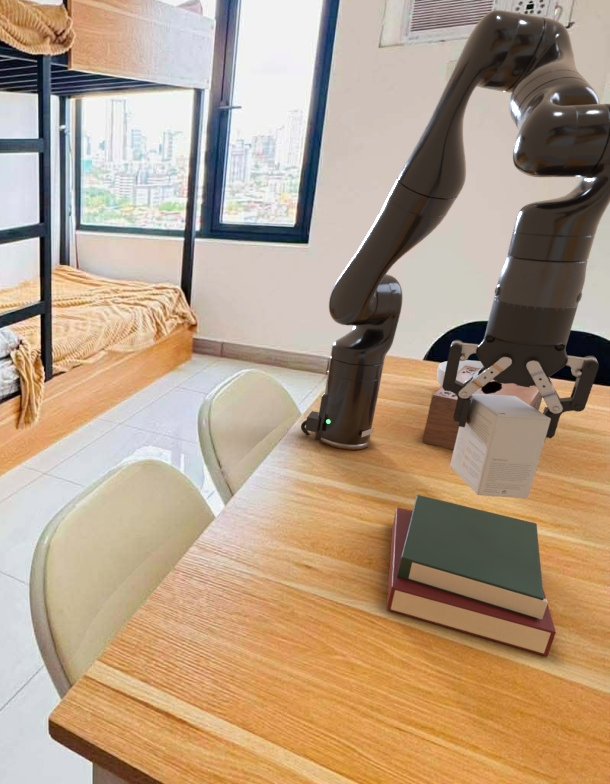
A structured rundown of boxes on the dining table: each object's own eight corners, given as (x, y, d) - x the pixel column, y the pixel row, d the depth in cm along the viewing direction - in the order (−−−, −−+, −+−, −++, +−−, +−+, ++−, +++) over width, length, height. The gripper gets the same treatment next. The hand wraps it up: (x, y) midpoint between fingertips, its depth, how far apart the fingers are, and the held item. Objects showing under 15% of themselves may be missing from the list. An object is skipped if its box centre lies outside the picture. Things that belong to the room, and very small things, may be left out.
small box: (528, 500, 74) (553, 418, 71) (476, 496, 75) (498, 415, 72) (495, 470, 82) (516, 394, 78) (448, 466, 83) (466, 391, 79)
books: (386, 610, 78) (396, 566, 76) (392, 526, 96) (400, 489, 94) (548, 657, 71) (565, 610, 68) (522, 557, 88) (534, 517, 86)
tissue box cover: (455, 407, 142) (465, 365, 138) (534, 424, 132) (547, 379, 129) (421, 441, 125) (432, 394, 121) (510, 464, 115) (524, 414, 112)
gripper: (616, 299, 69) (573, 435, 75) (461, 286, 77) (433, 410, 83) (625, 312, 64) (578, 458, 69) (457, 297, 72) (427, 429, 77)
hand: (499, 431), depth 76 cm, fingers closed on small box, 7 cm apart
